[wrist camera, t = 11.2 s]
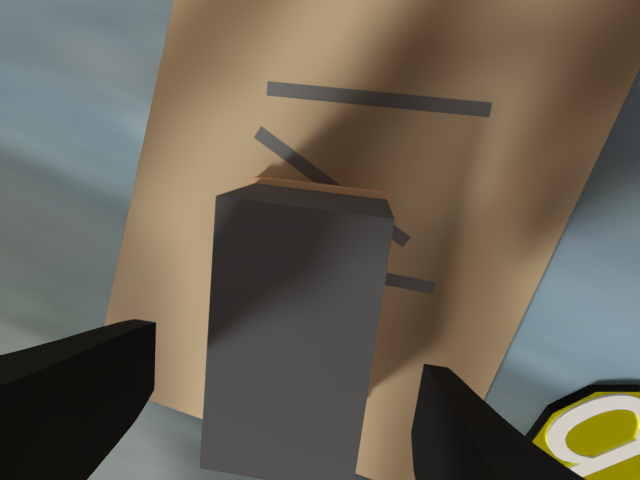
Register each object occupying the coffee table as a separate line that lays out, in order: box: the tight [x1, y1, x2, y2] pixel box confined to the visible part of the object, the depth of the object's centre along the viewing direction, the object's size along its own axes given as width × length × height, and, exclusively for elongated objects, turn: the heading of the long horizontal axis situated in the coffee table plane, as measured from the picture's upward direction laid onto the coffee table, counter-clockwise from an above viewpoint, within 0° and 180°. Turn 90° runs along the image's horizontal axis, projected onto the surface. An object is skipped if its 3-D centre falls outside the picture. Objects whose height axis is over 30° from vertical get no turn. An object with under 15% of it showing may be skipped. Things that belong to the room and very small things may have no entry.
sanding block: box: [200, 176, 395, 480], centre depth 15 cm, size 5×9×5 cm, turn 173°
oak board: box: [104, 0, 640, 480], centre depth 17 cm, size 16×24×1 cm, turn 162°
